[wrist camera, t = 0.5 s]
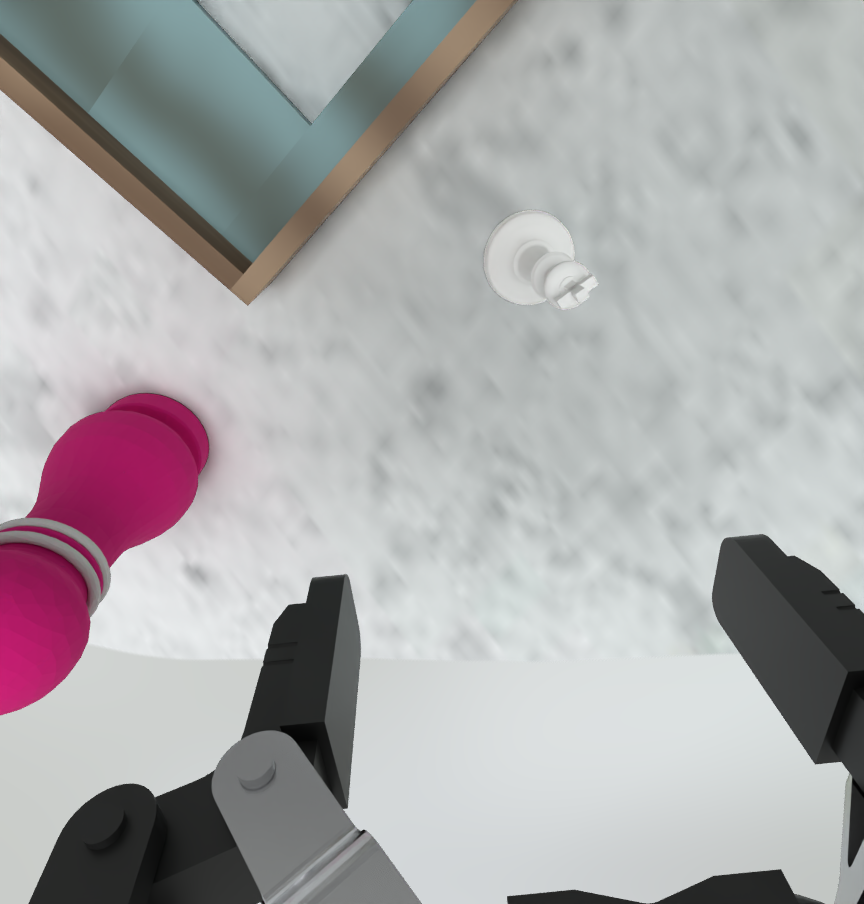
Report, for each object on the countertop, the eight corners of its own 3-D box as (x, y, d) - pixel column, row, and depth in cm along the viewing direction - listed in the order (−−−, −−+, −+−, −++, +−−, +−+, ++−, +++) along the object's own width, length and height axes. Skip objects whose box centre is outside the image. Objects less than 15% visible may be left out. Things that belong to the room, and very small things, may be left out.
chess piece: (465, 248, 31) (495, 281, 22) (544, 189, 30) (609, 199, 21) (513, 321, 33) (558, 380, 24) (588, 268, 32) (665, 309, 23)
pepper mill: (149, 509, 37) (-81, 835, 19) (66, 420, 34) (-303, 707, 16) (241, 460, 36) (90, 757, 18) (164, 362, 32) (-113, 602, 15)
